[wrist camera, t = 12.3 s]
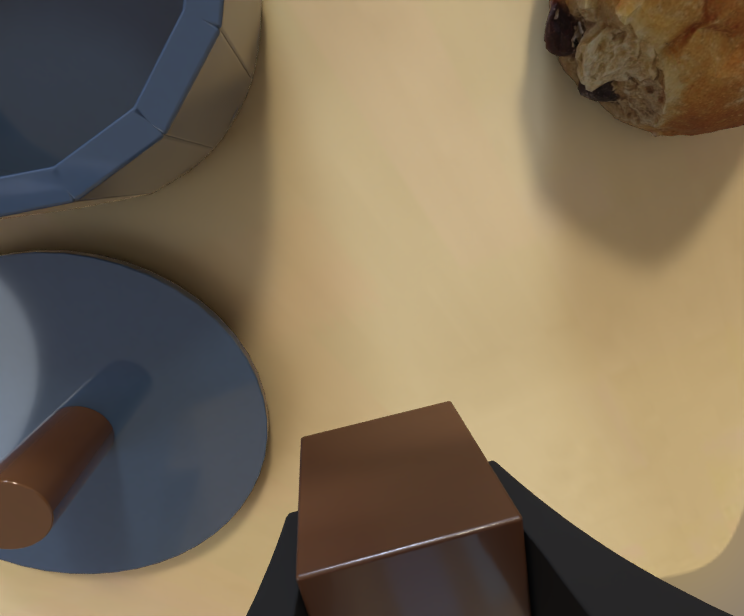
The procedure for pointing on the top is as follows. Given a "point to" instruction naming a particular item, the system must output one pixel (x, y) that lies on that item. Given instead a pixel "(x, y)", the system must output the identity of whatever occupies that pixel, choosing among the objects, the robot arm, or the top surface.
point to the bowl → (115, 95)
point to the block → (407, 522)
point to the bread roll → (655, 60)
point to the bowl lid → (117, 415)
